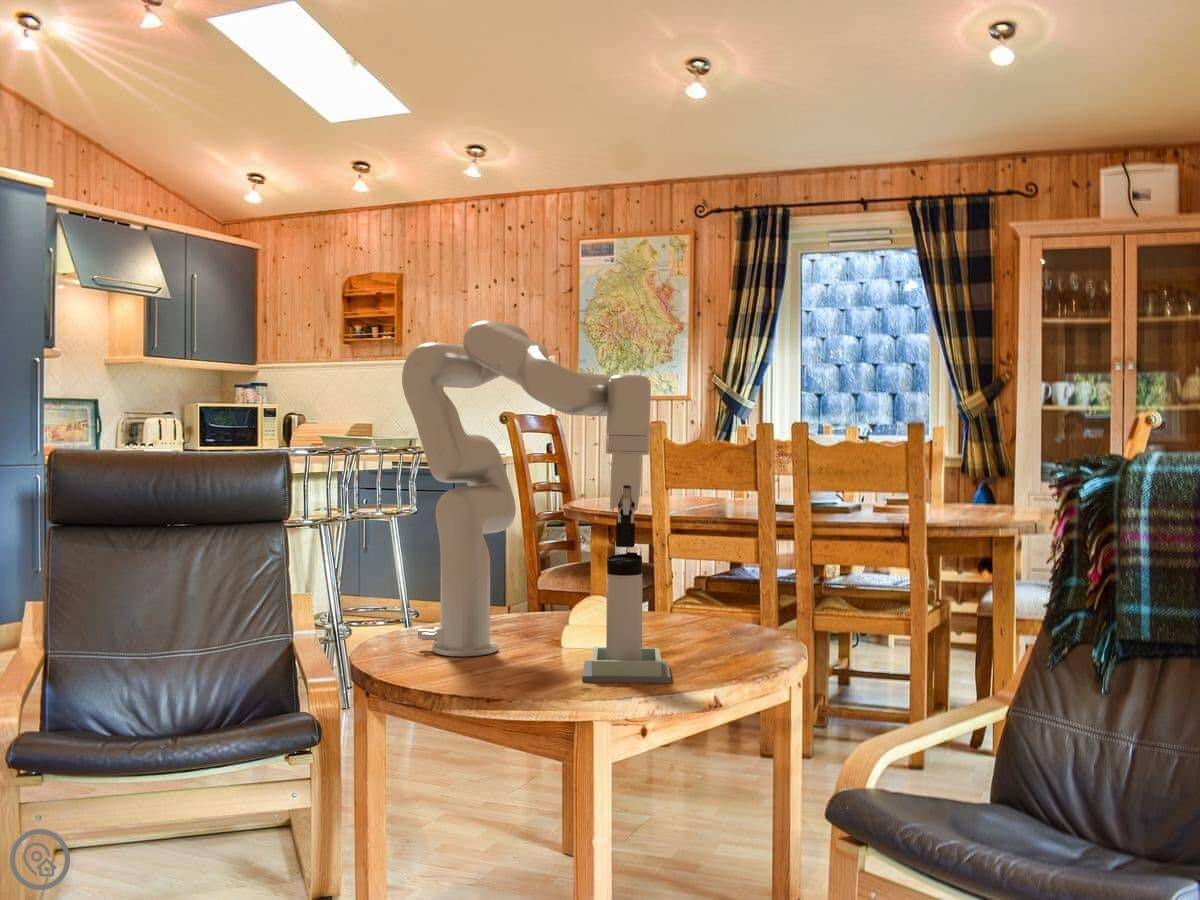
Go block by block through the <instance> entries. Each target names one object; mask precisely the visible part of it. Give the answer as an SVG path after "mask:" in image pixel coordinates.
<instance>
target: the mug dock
mask: <svg viewBox="0 0 1200 900" xmlns="http://www.w3.org/2000/svg"><path fill="white" fill-rule="evenodd" d="M583 663H584V664H583V669H582V676H581V677H582V678H581V681H585V682H584V683H626V684H627V683H636V684H637V683H639V684H641V683H642V684H643V683H644V684H646V683H647V684H671V683H672V677H671V675H672V674H671V671H670V665H669V662H668V661H666V660H665V661H664V660H662V656H661V651H660V647H642V661H626V660H607V658H606V646H605V647H603V646H602V647H601V646H600V647H599V646H598V647H597V646H595V647H594V646H593V650H592V658H591V660H584V662H583Z"/></svg>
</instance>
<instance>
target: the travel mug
mask: <svg viewBox="0 0 1200 900" xmlns="http://www.w3.org/2000/svg"><path fill="white" fill-rule="evenodd" d="M606 567H607V569H606V646H605V647H606V658H607V660H626V661H642V648H643V570H642V568H643V556H642V555H640V554H638V552H632V551H631V552H630V551H628V552H626V553H621V554H619V553H618V554H614V555H613V554H612V555H610V556H608V557H607V558H606Z"/></svg>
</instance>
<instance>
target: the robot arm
mask: <svg viewBox="0 0 1200 900" xmlns="http://www.w3.org/2000/svg"><path fill="white" fill-rule="evenodd" d="M549 356H550V355H549V351H548V350H547V348H546V346H545V345H543V344H542V343H540V342H537V341H535V340H533V339H531V338H530V337H529V334H528V333H527V332H526V331H525V330H524V329H523V328H522V327H520V326H518V325H516V324H513V323H507V322H501V321H500V322H499V321H494V320H481V321H477V322H475V323H473V324H472V325H470V326H469V327H468V328H467V329H466V330H465V332H464V335H463V339H462V345H461V344H453V343H447V342H446V343H445V342H426V343H423V344H420V345H418V346H416V347H415V348H414V349H413V350H411V351H410V353H409V354H408V355H407V357H406V359H405V361H404V364H403V367H402V372H401V383H402V385H401V386H402V390H403V391H402V392H403V394H404V397H405V400H406V402H407V405H408V407H409V409H410V411H411V414H412V416H413V419H414V422H415V425H416V429H417V433H418V435H419V439H420V442H421V446H422V448H423V452H424V455H425V460H426V462H427V465H428V469H429V471H430V473H431V475H432V477H433V478H434V479H436V481H438V482H440V483H445V484H451V483H452V484H453V483H454V484H459V483H466V484H467V486H459V487H454V488H451V489H449V490H447V491H446V492H444V493H443V494H442V495H441V496H440V498H439V499H438V502H437V503H436V506H435V522H436V527H437V532H438V539H439V549H440V552H439V553H440V555H439V556H440V614H439V615H440V616H439V617H440V619H439V620H440V621H439V622H440V625H439V626H438V627H434V629H427V628H419V629H418V630H417V639H418V640H421V641H433V642H434V643H433V644H432V646H431V651H432V652H433V653H434V654H437V655H439V656H448V657H477V656H478V657H479V656H486V655H490V654H493V653H496V652H498V650H499V644H498V643H497V641H494V640H490V639H491V637H490V636H491V635H490V634H491V556H490V551H489V547H488V545H487V542H486V538H485V536H484V535H487V534H488V535H489V534H496V533H500V532H501V533H502V532H503V531H505V530H507V529H508V528H510V526H511V525H512V524H513V522H514V520H515V517H516V512H517V511H516V500H515V497H514V496H515V495H514V493H513V489H512V487H511V483H510V480H509V477H508V473H507V470H506V467H505V464H504V461H503V459H502V455H501V453H500V451H499V449H498V447H497V446H496V444H495V443H494V442H493V441H492V440H491V439H489V438H488V437H486V436H483V435H480V434H468V433H467V432H465V429H464V427H463V424H462V422H461V419H460V414H459V412H458V410H457V407H456V405H455V404H454V402H453V401H452V400H451V398H450V397H449V396H448V395H447V394H446V392H445V390H444V388H458V389H460V388H461V389H473V388H477V387H480V386H482V385H484V384H487V383H488V382H489V383H490V382H491V381H493V380H495V379H497V378H500V377H504V378H505V379H508V380H510V381H511V382H514V383H515V384H517V385H520V386H521V388H522V389H523V391H525V392H526V394H528V395H529V396H530V397H531V398H533V399H534V400H535V401H538V402H540V403H542V404H544V405H546V406H548V407H549V408H551V409H553V410H555V411H557V412H560V413H562V414H565V415H568V416H587V417H605V416H606V435H605V436H606V438H605V439H606V443H605V447H606V448H605V454H608V455H611V460H610V461H611V462H610V477H609V478H610V479H609V480H610V482H609V487H610V489H609V509H610V511H611V512H614V509H617V517H616V518H615V519H616V522H615V523H616V526H615V546H616V547H617V548H634V547H635V542H636V540H635V538H636V523H635V512H636V511H638V510H639V503H640V496H641V486H642V485H641V483H642V468H643V467H642V465H643V464H642V463H643V462H642V461H643V456H647V455H648V456H649V455H650V430H651V429H650V426H651V424H650V422H651V399H652V398H651V396H652V395H651V394H652V389H651V388H652V387H651V386H652V384H651V381H650V380H651V379H649V378H648V377H647V376H645V375H641V374H640V375H639V374H637V375H636V374H615V375H613V376H612V375H605V374H597V373H590V372H589V373H588V372H581V371H580V372H577V371H574V370H572V369H569V368H568V367H567V368H566V367H565V366H562V365H560V364H558V363H556V362H554V361H552V360H550V359H549V358H550V357H549Z"/></svg>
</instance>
